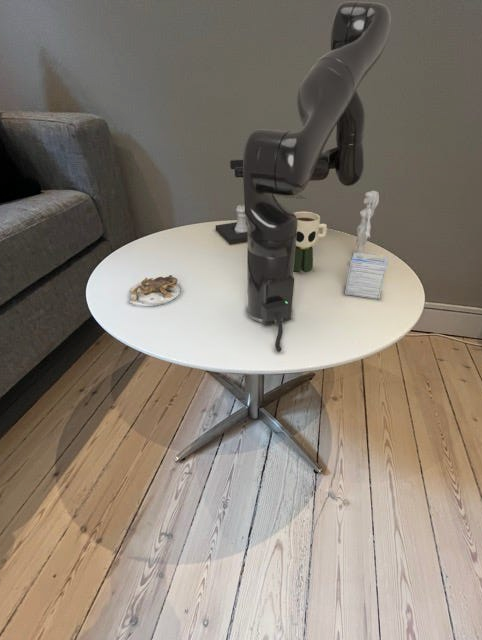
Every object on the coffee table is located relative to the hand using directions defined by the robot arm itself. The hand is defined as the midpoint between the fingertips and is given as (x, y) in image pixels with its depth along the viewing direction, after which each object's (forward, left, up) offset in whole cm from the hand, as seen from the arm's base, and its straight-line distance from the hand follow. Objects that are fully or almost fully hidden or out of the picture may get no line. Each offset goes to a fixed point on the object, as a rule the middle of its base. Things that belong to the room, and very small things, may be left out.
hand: (232, 168), depth 103 cm
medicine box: (-44, -14, -18) cm, 50 cm away
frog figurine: (-25, +30, -18) cm, 43 cm away
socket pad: (0, -2, -18) cm, 18 cm away
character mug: (-27, -7, -18) cm, 33 cm away
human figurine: (-31, -22, -18) cm, 42 cm away
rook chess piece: (0, -3, -18) cm, 18 cm away
